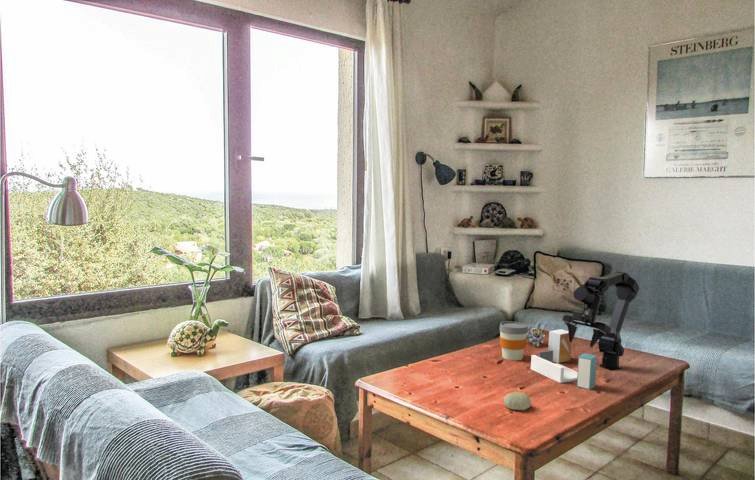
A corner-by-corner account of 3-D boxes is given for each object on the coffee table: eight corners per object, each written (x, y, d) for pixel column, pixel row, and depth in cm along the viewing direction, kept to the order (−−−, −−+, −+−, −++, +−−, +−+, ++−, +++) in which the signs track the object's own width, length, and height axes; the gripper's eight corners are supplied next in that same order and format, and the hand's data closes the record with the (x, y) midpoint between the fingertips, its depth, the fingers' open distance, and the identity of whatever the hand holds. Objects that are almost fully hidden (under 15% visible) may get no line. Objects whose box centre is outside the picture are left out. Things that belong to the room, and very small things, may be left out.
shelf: (556, 365, 247) (557, 347, 246) (587, 378, 230) (588, 359, 230) (530, 369, 241) (531, 350, 240) (560, 382, 225) (561, 363, 224)
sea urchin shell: (497, 397, 204) (514, 381, 204) (512, 411, 205) (528, 396, 205) (505, 406, 195) (522, 390, 195) (521, 422, 196) (537, 406, 196)
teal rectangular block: (582, 382, 225) (583, 353, 224) (595, 385, 222) (596, 355, 221) (576, 386, 221) (578, 356, 220) (589, 389, 218) (591, 359, 216)
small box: (558, 363, 249) (560, 334, 248) (547, 359, 255) (548, 331, 253) (570, 360, 254) (572, 332, 252) (559, 356, 259) (560, 328, 258)
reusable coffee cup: (530, 356, 259) (532, 323, 258) (521, 363, 249) (523, 329, 247) (503, 351, 266) (505, 320, 264) (494, 358, 255) (495, 325, 254)
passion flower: (536, 357, 276) (532, 341, 269) (518, 348, 284) (513, 332, 277) (550, 342, 280) (546, 325, 274) (532, 333, 288) (527, 317, 281)
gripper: (560, 297, 234) (549, 334, 231) (602, 306, 219) (591, 345, 217) (574, 305, 240) (564, 340, 238) (616, 313, 226) (605, 351, 223)
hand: (580, 344), depth 229 cm, fingers open, 9 cm apart
